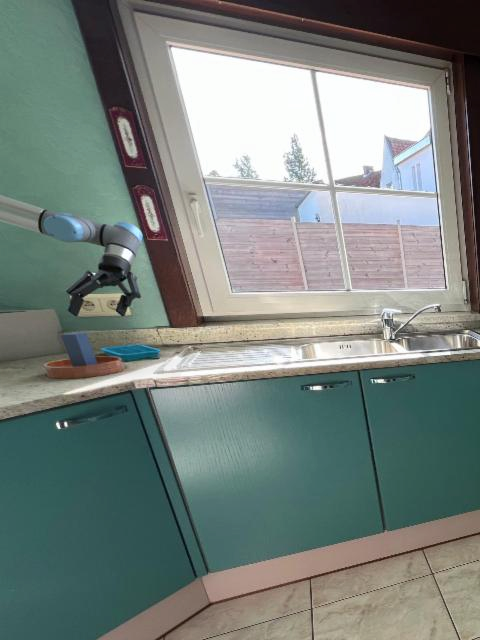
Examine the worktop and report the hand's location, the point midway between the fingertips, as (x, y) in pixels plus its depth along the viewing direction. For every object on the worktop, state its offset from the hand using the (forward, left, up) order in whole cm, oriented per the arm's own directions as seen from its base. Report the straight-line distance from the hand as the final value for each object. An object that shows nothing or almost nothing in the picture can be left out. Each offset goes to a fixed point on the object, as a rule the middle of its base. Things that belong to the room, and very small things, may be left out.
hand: (96, 313), depth 157 cm
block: (-5, -9, -17) cm, 20 cm away
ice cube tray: (+3, +16, -18) cm, 24 cm away
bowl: (-5, -9, -17) cm, 20 cm away
